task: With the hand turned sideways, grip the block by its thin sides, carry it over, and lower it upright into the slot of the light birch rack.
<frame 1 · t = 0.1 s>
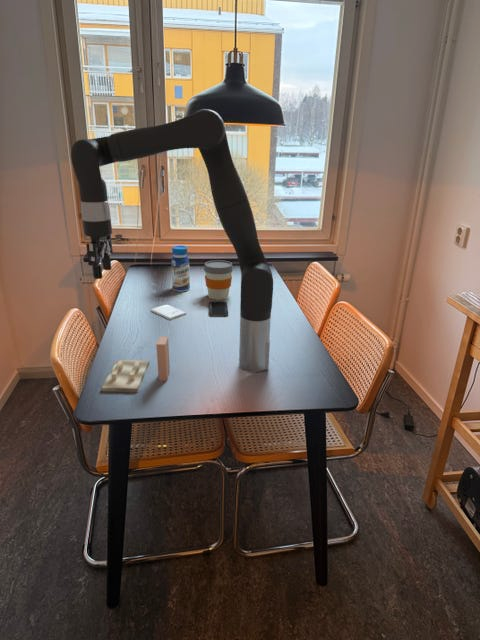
hand: (103, 274, 124), 29 cm above the table, tool pointing down, fingers open, 8 cm apart
external hard drive: (168, 314, 173), on the table
block: (164, 376, 128), on the table
reusable coffee cup: (218, 296, 192), on the table
beverage bottle: (181, 289, 200), on the table
rack: (127, 376, 127), on the table
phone: (218, 310, 178), on the table
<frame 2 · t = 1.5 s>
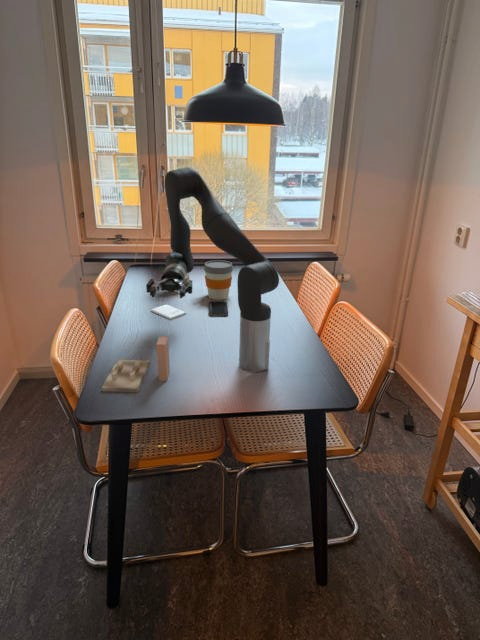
hand: (166, 294, 129), 22 cm above the table, tool horizontal, fingers open, 8 cm apart
nothing on the table moved.
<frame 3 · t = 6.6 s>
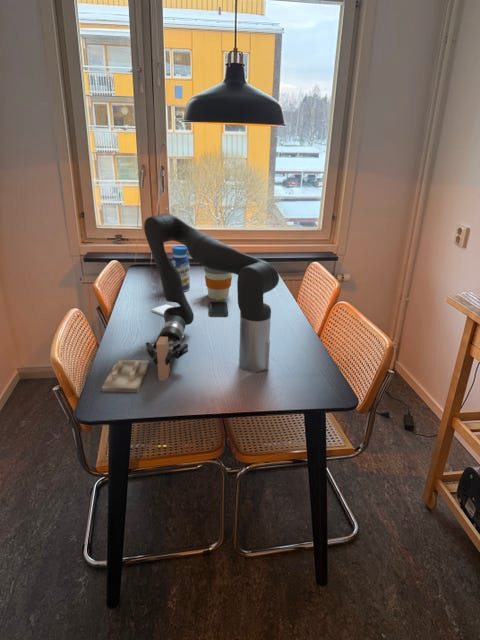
hand: (161, 361, 123), 7 cm above the table, tool horizontal, fingers closed on block, 2 cm apart
block: (164, 376, 128), on the table, touching gripper
everything else where it was.
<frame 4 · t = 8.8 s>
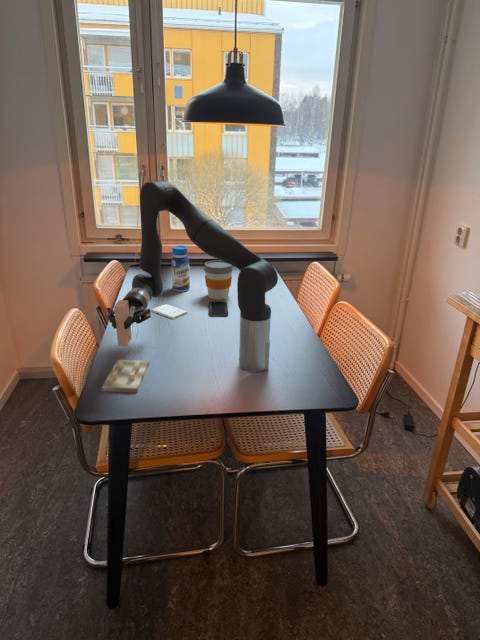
hand: (120, 325, 118), 18 cm above the table, tool horizontal, fingers closed on block, 2 cm apart
block: (124, 342, 123), point 11 cm above the table, touching gripper
everything else where it was.
when the fingers open (9 cm above the table, at t = 11.2 s): block drops 1 cm, resting on rack.
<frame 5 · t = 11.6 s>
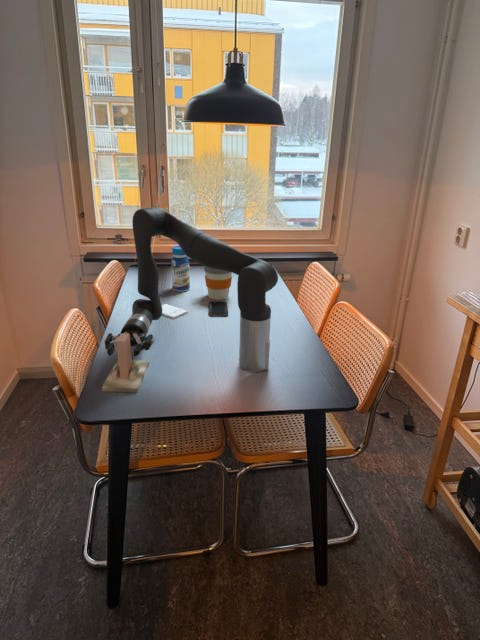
hand: (122, 353, 122), 9 cm above the table, tool horizontal, fingers open, 6 cm apart
block: (126, 373, 127), point 1 cm above the table, touching rack
everything else where it was.
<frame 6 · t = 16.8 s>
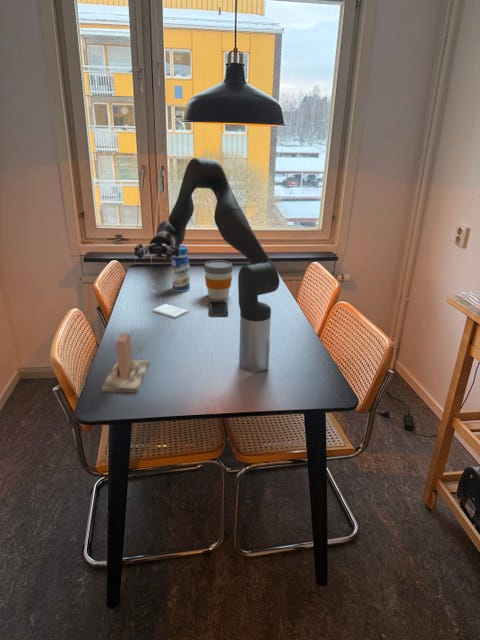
hand: (153, 256, 132), 32 cm above the table, tool horizontal, fingers open, 8 cm apart
at the end: block 0.1 cm off-centre on the rack, point 1.2 cm above the rack's base; block tilted 0°; the gripper is holding nothing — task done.
